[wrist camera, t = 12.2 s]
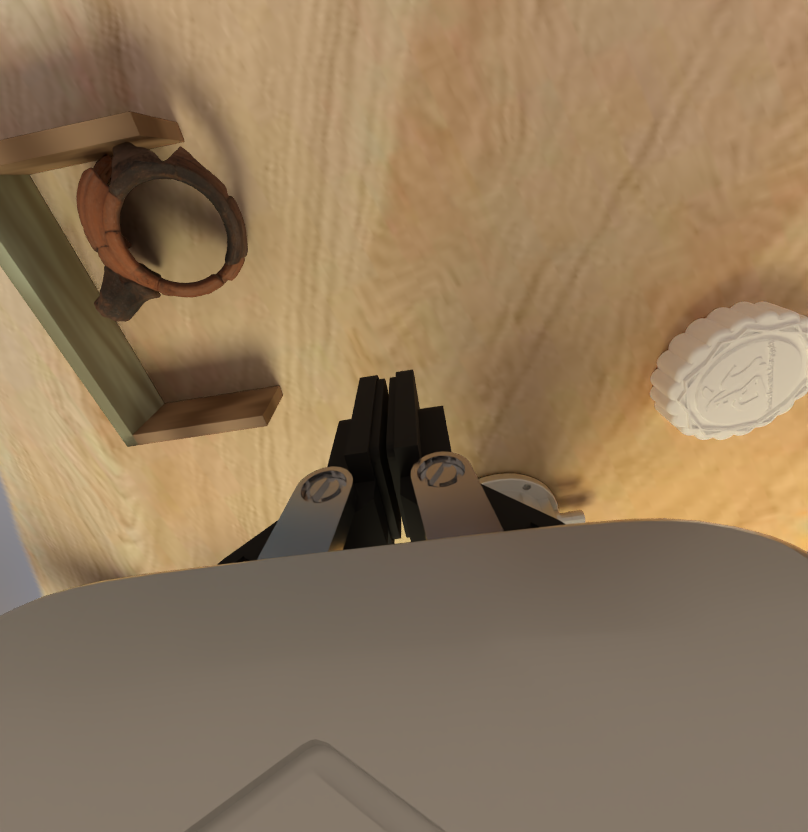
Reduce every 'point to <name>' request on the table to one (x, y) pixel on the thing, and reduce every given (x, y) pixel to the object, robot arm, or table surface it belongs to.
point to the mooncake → (733, 370)
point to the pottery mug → (122, 273)
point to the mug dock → (75, 292)
